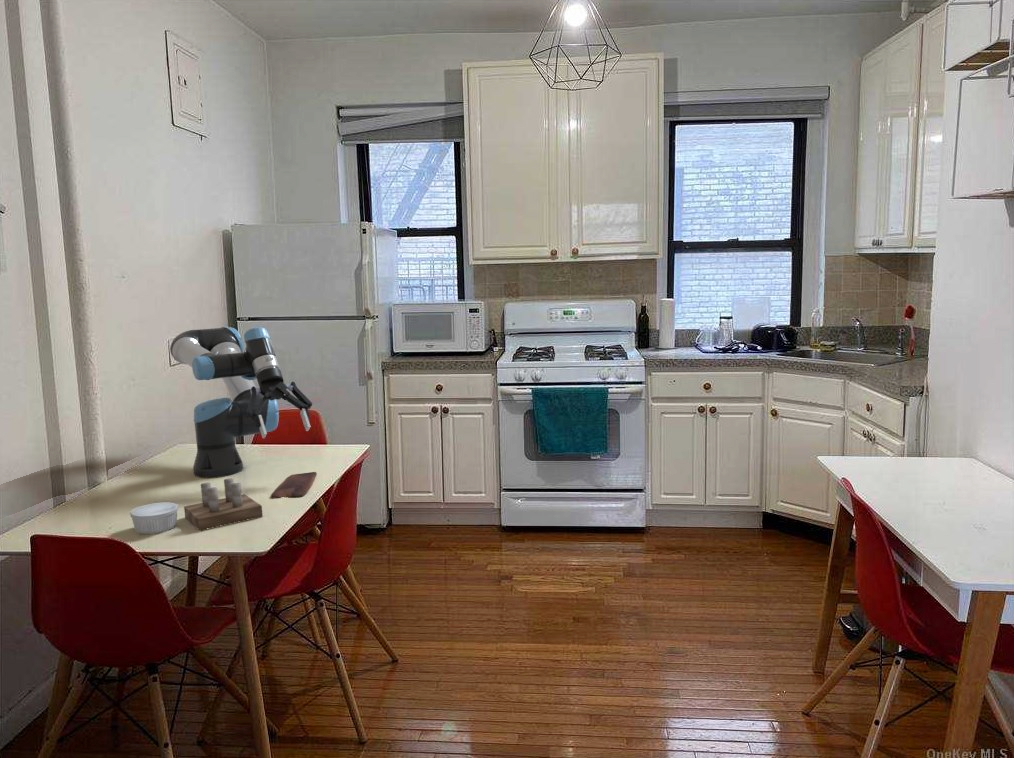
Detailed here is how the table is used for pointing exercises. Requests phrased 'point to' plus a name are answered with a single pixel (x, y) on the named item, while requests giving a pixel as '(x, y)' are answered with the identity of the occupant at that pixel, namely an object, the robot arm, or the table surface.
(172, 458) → the table surface
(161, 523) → the ramekin
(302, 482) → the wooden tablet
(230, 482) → the peg stand
